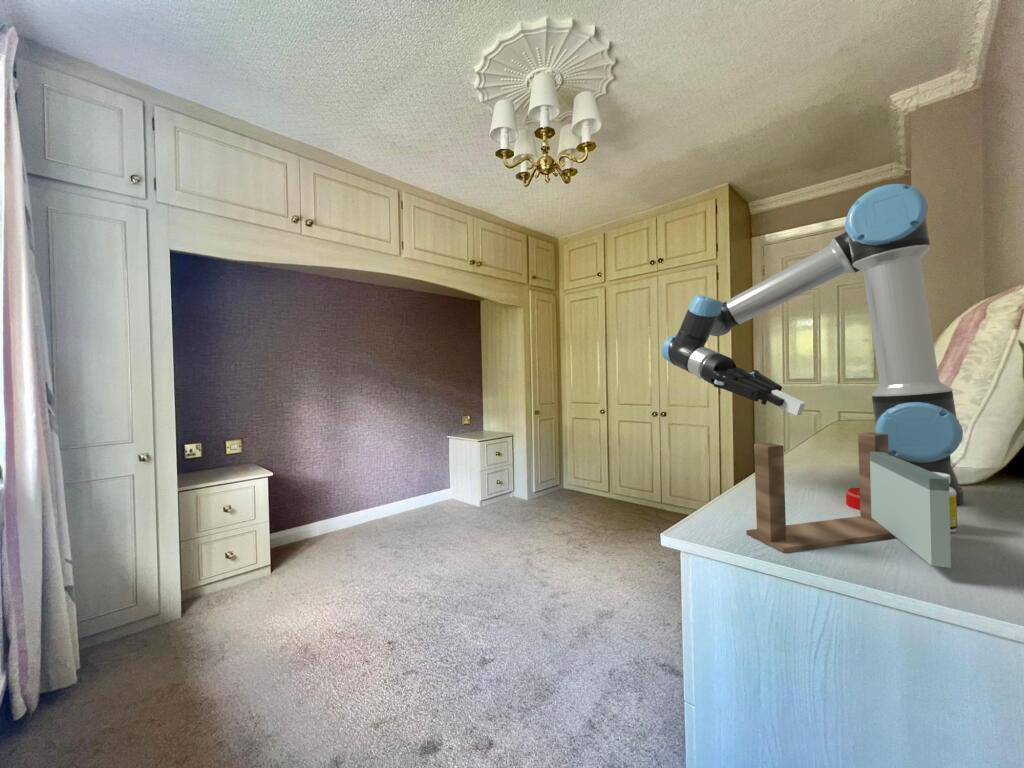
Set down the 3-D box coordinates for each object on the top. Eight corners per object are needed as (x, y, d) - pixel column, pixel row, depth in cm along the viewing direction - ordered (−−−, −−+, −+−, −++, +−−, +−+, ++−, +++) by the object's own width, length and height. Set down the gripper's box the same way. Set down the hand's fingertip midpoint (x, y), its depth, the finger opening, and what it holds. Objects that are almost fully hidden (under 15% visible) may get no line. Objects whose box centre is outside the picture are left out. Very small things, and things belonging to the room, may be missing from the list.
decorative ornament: (834, 504, 90) (834, 489, 90) (869, 499, 92) (869, 485, 92) (882, 518, 80) (882, 502, 80) (920, 512, 82) (920, 497, 82)
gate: (871, 517, 75) (869, 451, 75) (885, 518, 74) (883, 452, 74) (931, 565, 57) (929, 478, 56) (951, 567, 56) (948, 479, 56)
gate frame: (870, 518, 80) (868, 432, 79) (918, 534, 72) (916, 437, 71) (746, 534, 74) (743, 441, 74) (783, 552, 67) (780, 449, 66)
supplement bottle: (966, 534, 71) (965, 477, 71) (929, 533, 72) (927, 477, 72) (940, 523, 76) (939, 470, 76) (906, 522, 77) (905, 470, 77)
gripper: (728, 377, 107) (817, 420, 87) (688, 384, 103) (772, 430, 83) (735, 350, 104) (829, 388, 84) (694, 355, 99) (783, 397, 79)
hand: (801, 409), depth 83 cm, fingers closed
